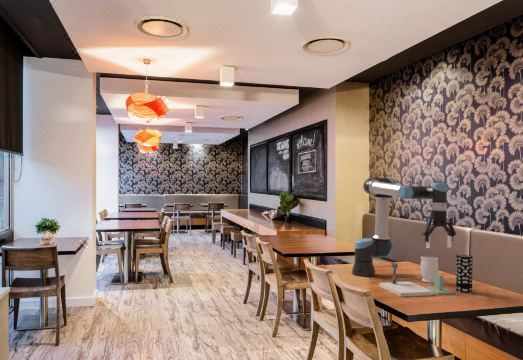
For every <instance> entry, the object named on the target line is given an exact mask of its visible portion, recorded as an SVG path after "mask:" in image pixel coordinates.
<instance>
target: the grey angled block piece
mask: <svg viewBox="0 0 523 360" xmlns="http://www.w3.org/2000/svg"><path fill="white" fill-rule="evenodd" d="M390 266H391V268H392V282H393V283H396V282H411V281H412V280H411V278H403V277H402V278H401V277H400V278H399V277H397V275H396V274H397V269H398V266H399V265H398V263H397V262H396V261H391V265H390Z"/></svg>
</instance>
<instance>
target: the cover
mask: <svg viewBox="0 0 523 360" xmlns="http://www.w3.org/2000/svg"><path fill="white" fill-rule="evenodd" d="M424 288H426V289H429V290H431V291H434V295H437V296H438V295H454V291H453V290H451V289H447V288H445V287H444V275H443V274H439V273H437V274H434V283H433V286H424Z"/></svg>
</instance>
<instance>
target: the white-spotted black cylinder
mask: <svg viewBox="0 0 523 360" xmlns="http://www.w3.org/2000/svg"><path fill="white" fill-rule="evenodd" d="M455 256H456V257H455V261H456V263H455V267H456V268H455V291H456V292H458V293H463V294H471V293H473V265H474V264H473V261H474V260H473V259H474V258H473V255H468V254H456V255H455Z"/></svg>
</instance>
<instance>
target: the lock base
mask: <svg viewBox="0 0 523 360" xmlns="http://www.w3.org/2000/svg"><path fill="white" fill-rule="evenodd" d="M378 287H380V288H382V289H384V290H386V291H388V292H390V293H392V294H394V295H396V296H398V297H423V296H424V297H425V296H434V295H435V293H434V291H431V290H429V289H426V288H424V287H425V286H424V287H423V286H421V285H419V284H416V283H414V282H411V281H396V283H393V281H392V282H391V281H390V282H378Z"/></svg>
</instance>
